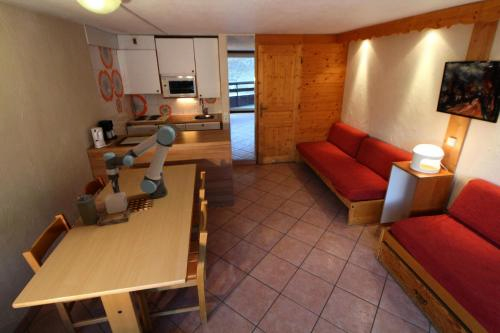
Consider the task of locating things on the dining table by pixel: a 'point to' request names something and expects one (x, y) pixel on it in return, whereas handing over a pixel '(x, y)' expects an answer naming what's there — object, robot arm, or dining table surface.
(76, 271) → the dining table surface
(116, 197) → the carton
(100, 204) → the brown small blob
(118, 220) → the display bay
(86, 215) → the canister
